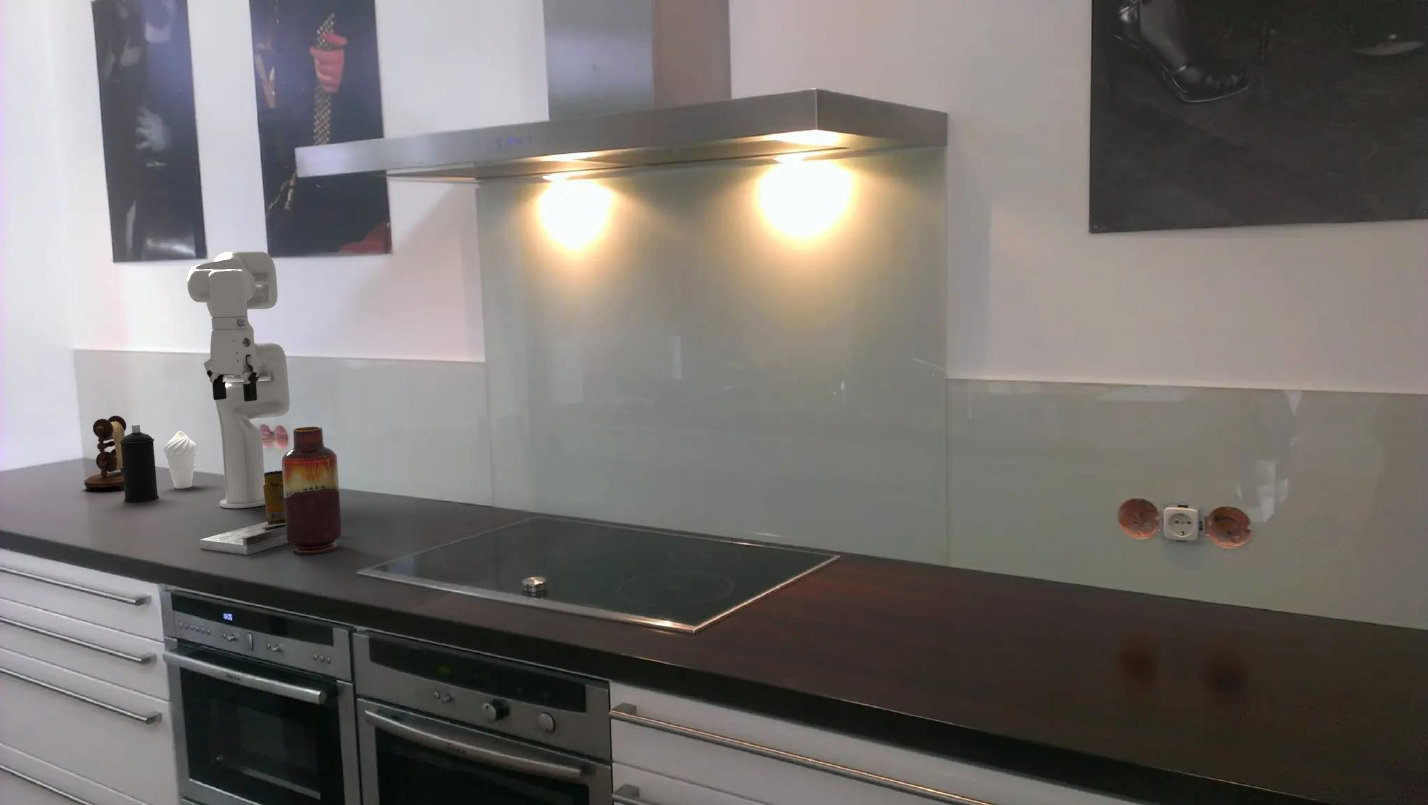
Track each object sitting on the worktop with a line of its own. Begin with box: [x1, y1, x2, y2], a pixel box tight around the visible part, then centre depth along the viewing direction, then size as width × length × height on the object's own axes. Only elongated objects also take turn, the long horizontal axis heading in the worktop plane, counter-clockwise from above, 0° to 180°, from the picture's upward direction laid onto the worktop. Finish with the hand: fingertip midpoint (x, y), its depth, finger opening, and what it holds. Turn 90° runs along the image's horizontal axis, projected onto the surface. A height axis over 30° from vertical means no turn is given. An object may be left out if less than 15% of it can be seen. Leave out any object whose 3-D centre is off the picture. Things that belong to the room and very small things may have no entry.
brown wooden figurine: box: [83, 415, 127, 491], centre depth 307 cm, size 15×15×20 cm
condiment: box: [263, 470, 286, 526], centre depth 245 cm, size 7×8×12 cm
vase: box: [281, 426, 342, 555], centre depth 232 cm, size 11×11×26 cm
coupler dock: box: [199, 521, 290, 556], centre depth 242 cm, size 22×14×8 cm, turn 155°
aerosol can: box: [119, 423, 160, 503], centre depth 289 cm, size 8×8×20 cm
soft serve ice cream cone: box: [163, 430, 198, 490], centre depth 305 cm, size 8×8×16 cm
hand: (235, 400), depth 248 cm, fingers open, 9 cm apart
